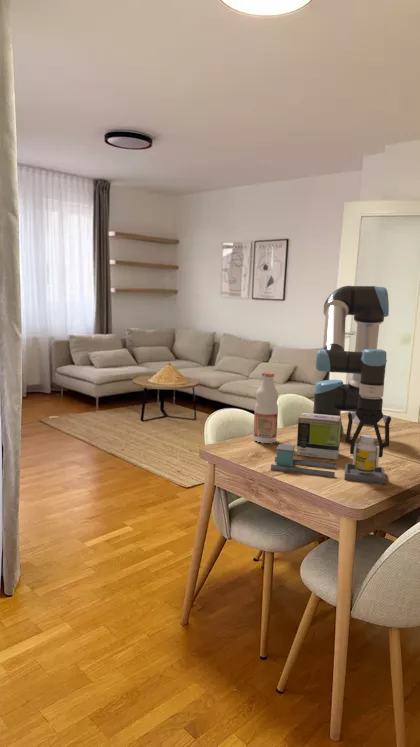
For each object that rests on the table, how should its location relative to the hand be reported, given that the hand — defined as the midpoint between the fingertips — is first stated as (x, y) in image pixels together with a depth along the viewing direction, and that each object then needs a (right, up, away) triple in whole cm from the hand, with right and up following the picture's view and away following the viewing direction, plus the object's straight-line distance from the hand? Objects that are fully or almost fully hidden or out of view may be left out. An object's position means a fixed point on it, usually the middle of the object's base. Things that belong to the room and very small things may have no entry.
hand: (365, 464), depth 167 cm
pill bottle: (0, -2, 0) cm, 2 cm away
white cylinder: (+21, +6, +76) cm, 79 cm away
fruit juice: (-29, +3, +38) cm, 48 cm away
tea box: (-11, 0, +23) cm, 25 cm away
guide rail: (-19, -2, +6) cm, 20 cm away
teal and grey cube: (-26, -2, +8) cm, 27 cm away
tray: (0, -4, +1) cm, 4 cm away
